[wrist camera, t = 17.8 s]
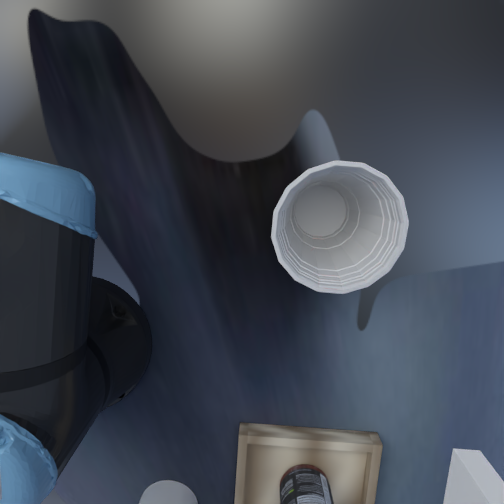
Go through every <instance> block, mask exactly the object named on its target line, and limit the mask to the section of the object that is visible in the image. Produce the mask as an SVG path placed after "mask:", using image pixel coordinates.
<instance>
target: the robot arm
mask: <svg viewBox="0 0 504 504" xmlns="http://www.w3.org/2000/svg"><path fill="white" fill-rule="evenodd" d="M97 236H98V234H97V232H96V230H95V190H94V187H93V185H92V184H91V182H90V181H89V179H88V178H87V177H85V176H84V175H83V174H81V173H80V172H78V171H75V170H72V169H69V168H65V167H61V166H57V165H52V164H48V163H44V162H40V161H35V160H31V159H27V158H22V157H18V156H14V155H9V154H5V153H1V152H0V504H40V503H41V502H42V501H43V500H44V499H45V498H46V497H47V496H48V495H49V493H50V492H51V491H52V490H53V488H54V486H55V485H56V480H57V479H58V477H59V475H60V474H61V472H62V471H63V469H64V468H65V466H66V464H67V463H68V461H69V460H70V458H71V457H72V455H73V453H74V452H75V450H76V449H77V447H78V446H79V444H80V442H81V441H82V439H83V438H84V436H85V435H86V433H87V431H88V430H89V428H90V427H91V425H92V424H93V422H94V420H95V419H96V417H97V416H98V414H99V413H100V412H101V411H103V410H105V409H106V408H107V407H109V406H112V405H113V404H115V403H117V402H119V401H120V400H122V399H123V398H124V397H126V396H127V395H128V394H129V393H130V392H131V391H132V390H133V389H134V388H135V386H136V385H137V384H138V382H139V380H140V379H141V377H142V375H143V374H144V372H145V370H146V368H147V366H148V363H149V360H150V356H151V350H152V338H151V331H150V327H149V324H148V321H147V319H146V316H145V315H144V313H143V311H142V309H141V308H140V306H139V305H138V304H137V302H136V301H135V300H134V299H133V298H132V297H131V296H130V295H129V294H128V293H127V292H125V291H124V290H123V289H121V288H120V287H118V286H117V285H115V284H113V283H111V282H109V281H106V280H104V279H101V278H97V277H93V276H92V270H93V257H94V243H95V239H97ZM443 504H504V482H503V480H502V479H501V478H500V476H499V475H498V474H497V472H496V471H495V470H494V468H493V467H492V466H491V464H490V463H489V462H488V460H487V459H486V458H485V456H484V455H483V454H482V452H481V451H480V450H466V449H453V452H452V458H451V463H450V469H449V474H448V480H447V486H446V491H445V497H444V502H443Z"/></svg>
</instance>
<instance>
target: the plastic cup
mask: <svg viewBox="0 0 504 504" xmlns="http://www.w3.org/2000/svg"><path fill="white" fill-rule="evenodd" d="M408 225H409V221H408V217H407V212H406V207H405V203H404V198H403V196H402V195H401V194H400V192H399V191H398V190H397V188H396V187H395V186H394V184H393V183H392V182H391V180H390V179H389V178H388V176H386V175H385V174H383V173H381V172H379V171H377V170H375V169H373V168H372V167H370V166H368V165H366V164H365V163H358V162H347V161H336V160H335V161H332V162H329V163H326V164H323V165H320V166H316V167H313V168H310V169H308V170H307V171H305V172H304V173H303V174H302V175H301V176H299V177H298V178H297V179H296V180H295V181H293V182H292V183H291V184H290V185H289V186H287V187H286V189H285V191H284V193H283V195H282V197H281V199H280V200H279V202H278V204H277V206H276V208H275V210H274V213H273V223H272V233H271V238H272V242H273V245H274V248H275V251H276V254H277V258H278V261H279V262H280V264H281V265H282V266H283V267H284V268H285V269H286V270H287V272H288V273H289V274H290V275H291V276H292V277H293V279H294V280H295V281H297V282H299V283H301V284H303V285H305V286H307V287H309V288H311V289H313V290H315V291H317V292H327V293H338V294H345V293H348V292H352V291H355V290H359V289H362V288H366V287H369V286H370V285H371V284H373V283H374V282H375V281H377V280H378V279H379V278H381V277H382V276H384V275H385V274H386V273H388V272H389V271H390V270H391V268H392V267H393V265H394V263H395V262H396V260H397V259H398V257H399V256H400V254H401V253H402V251H403V249H404V246H405V241H406V236H407V231H408Z"/></svg>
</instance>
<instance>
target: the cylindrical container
mask: <svg viewBox="0 0 504 504" xmlns="http://www.w3.org/2000/svg"><path fill="white" fill-rule="evenodd" d="M139 504H198V501H197V499H196V496H195V495H194V493H193V492H192V491H191V490H190V488H188V487H187V486H186V485H184V484H182V483H180V482H177V481H172V480H162V481H158V482H156V483H153V484H151V485H150V486H149V487H147V489H146V490H145V491H144V492H143V494H142V496H141V499H140V502H139Z"/></svg>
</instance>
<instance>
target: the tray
mask: <svg viewBox="0 0 504 504" xmlns="http://www.w3.org/2000/svg"><path fill="white" fill-rule="evenodd" d="M382 447H383V445H382V443H381V440H380V438H379V436H378V433H377V432H366V431H352V430H338V429H324V428H310V427H297V426H283V425H269V424H255V423H241V422H240V428H239V441H238V456H237V472H236V487H235V502H234V504H280V481H281V478H282V476H283V475H284V473H285V472H286V471H287V470H288V469H290V468H292V467H294V466H296V465H301V464H308V465H313V466H315V467H317V468H319V469H320V470H322V471H323V472H324V473H325V475H326V476H327V478H328V481H329V484H330V488H331V493H332V497H333V502H334V504H374V503H375V496H376V489H377V482H378V475H379V468H380V461H381V454H382Z"/></svg>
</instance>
